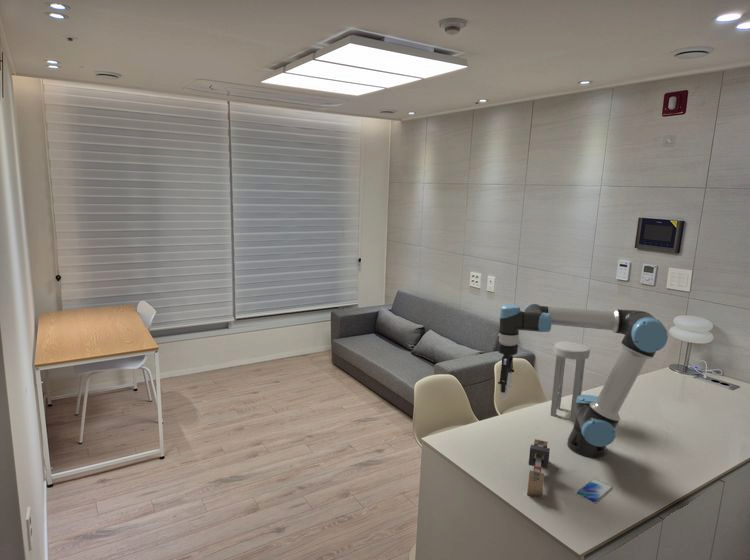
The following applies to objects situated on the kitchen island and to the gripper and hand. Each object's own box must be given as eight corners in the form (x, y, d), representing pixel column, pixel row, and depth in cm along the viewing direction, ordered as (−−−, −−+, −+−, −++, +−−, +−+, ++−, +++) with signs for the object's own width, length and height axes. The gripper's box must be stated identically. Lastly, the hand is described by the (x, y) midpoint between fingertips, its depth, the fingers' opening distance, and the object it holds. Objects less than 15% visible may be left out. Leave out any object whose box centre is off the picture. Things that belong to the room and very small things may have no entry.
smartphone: (613, 487, 177) (595, 503, 167) (613, 489, 177) (594, 505, 167) (593, 477, 182) (575, 492, 172) (593, 479, 182) (574, 494, 172)
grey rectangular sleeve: (548, 465, 184) (549, 448, 183) (547, 469, 181) (549, 452, 180) (529, 460, 187) (530, 444, 185) (528, 464, 184) (530, 448, 183)
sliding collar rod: (545, 459, 194) (547, 441, 193) (541, 498, 169) (544, 477, 168) (533, 457, 196) (534, 438, 195) (527, 495, 171) (529, 473, 169)
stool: (584, 412, 238) (592, 345, 232) (578, 424, 226) (586, 353, 219) (552, 404, 247) (558, 339, 240) (544, 415, 234) (551, 347, 227)
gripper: (503, 334, 205) (500, 380, 209) (493, 351, 183) (490, 403, 186) (521, 336, 202) (518, 383, 206) (513, 353, 180) (510, 406, 183)
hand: (505, 393), depth 196 cm, fingers open, 13 cm apart
